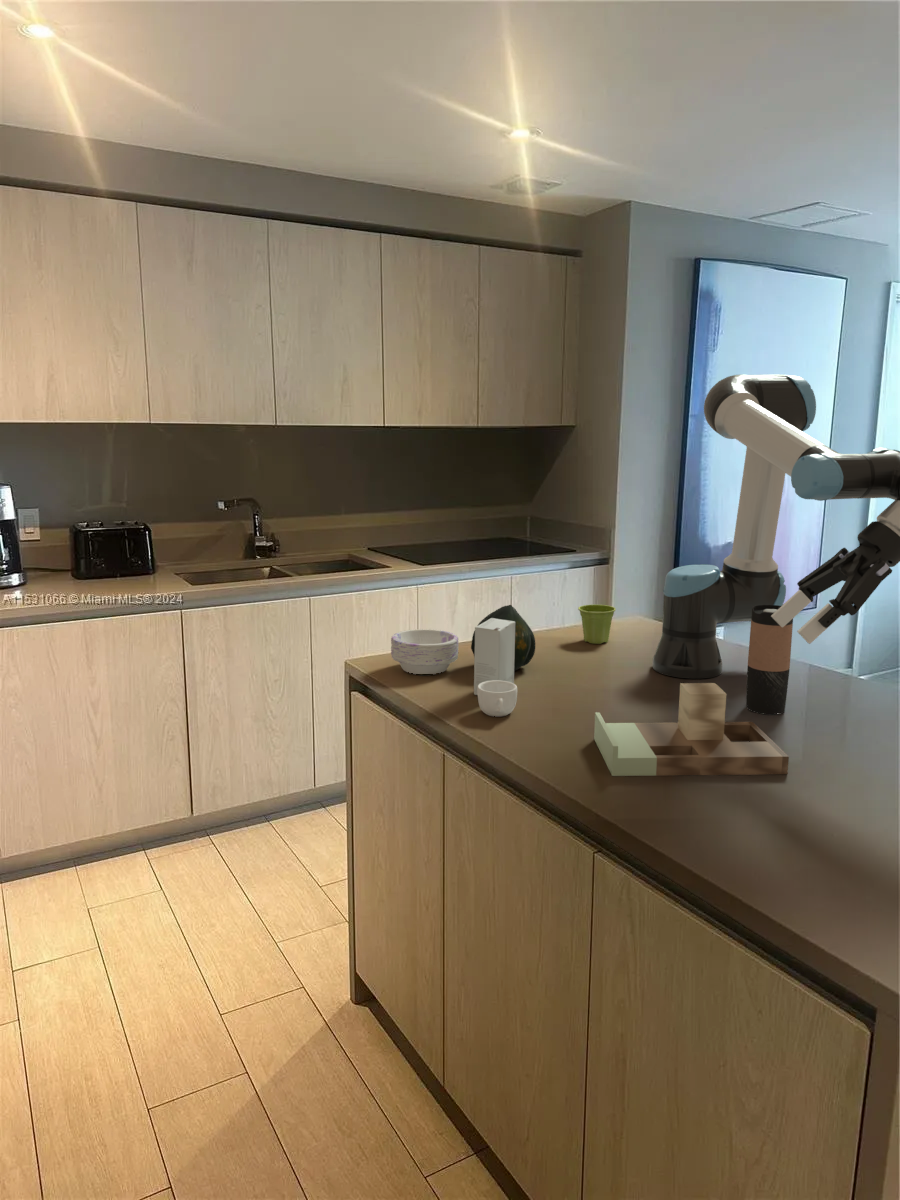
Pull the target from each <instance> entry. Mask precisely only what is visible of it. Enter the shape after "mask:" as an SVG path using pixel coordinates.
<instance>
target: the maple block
mask: <svg viewBox="0 0 900 1200" xmlns="http://www.w3.org/2000/svg"><path fill="white" fill-rule="evenodd" d="M678 700H679V702H678V718H677V722H678V728H679V730H680V731H681V732H682V733H683V735H684V736H685V737H686V739H687V740H724V724H725V722H726V706H727V693H726V692H725V691H724V690H723V689H722V688H721V687H720V686H719V685H718V684H716V683H715V682H692V683H690V682H689V683H688V682H684V683H683V682H682V683H681V682H680V683H679V698H678Z"/></svg>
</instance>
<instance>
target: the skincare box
mask: <svg viewBox="0 0 900 1200" xmlns="http://www.w3.org/2000/svg"><path fill="white" fill-rule="evenodd" d="M477 625H478V624H477ZM477 625H476V626H475V627H474V631H475V656H474V655H473V659H474V660H473V661H474V662H473V663H474V664H473V665H474V667H473V669H474V670H473V671H474V673H473V675H474V676H473V679H474V680H473V695H474V696H478V693H477V687H478V685H479V684H480V683H482V682H485V681H492V680H501V681H508V682H511V683H514V684H515V671H514V659H515V621H509V620H501V619H495V618H490V619H489V620H487V621H485V622H484V623H482V624H480V625H478V626H477Z"/></svg>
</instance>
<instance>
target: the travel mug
mask: <svg viewBox="0 0 900 1200" xmlns="http://www.w3.org/2000/svg"><path fill="white" fill-rule="evenodd" d="M780 607H781V606H778V605H757V606H754V607H752V616H751V621H750V627H749V628H750V632H749V644H748V645H749V646H748V657H747V670H746V671H747V673H746V675H747V676H746V698H745V699H746V701H745V702H746V704H745V705H746V708H748V709H747V710H749V709H750V710H752V711H751V712H753V711H755V712H754V713H756V712H758V713H757V714H760V713H764V714H763V715H769V714H774V715H778V714H777V713H781V714H783V713H784V712H785V711H786V704H787V696H788V695H787V694H788V685H789V679H790V678H789V677H790V667H791V657H792V656H791V655H792V654H791V653H792V643H793V642H792V641H793V626H794V624H793V623H794V618H793V619H792V620H790V621H789V622H788V623H787V624H786V625H785V626H784V627H783V628H782V627H781V626H780V625H779V624H778V623H777V622H776V621H775V620H774V619H773V618H772V617H771V615H772V614H773V613H775V612H776V611H777V610H778V609H779V608H780ZM750 710H749V711H750ZM782 712H783V713H782Z"/></svg>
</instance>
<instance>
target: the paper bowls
mask: <svg viewBox="0 0 900 1200" xmlns="http://www.w3.org/2000/svg"><path fill="white" fill-rule="evenodd" d="M390 642H391V647H390V649H391V651H390V653H391V654H390V655H391V658H392V660H393V661H395V662H398V663H399V665H400V667H401V669H402V670H403V671H404V672H406V673H408V672H409V673H408V674H411V673H413V674H412V675H416V674H433V675H437V674H436V673H439V674H442V673H444V672H445V671H447V670H448V668H449V666H450V664H451V663H454V662H456V660H458V658H459V637H458V636H457V634H455V633H453V632H450V631H446V630H441V629H440V630H439V629H431V628H429V629H427V628H426V629H423V628H422V629H421V628H420V629H407V630H402V631H398V632H396V633H393V634H392V636H391V638H390ZM441 672H442V673H441Z"/></svg>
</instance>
